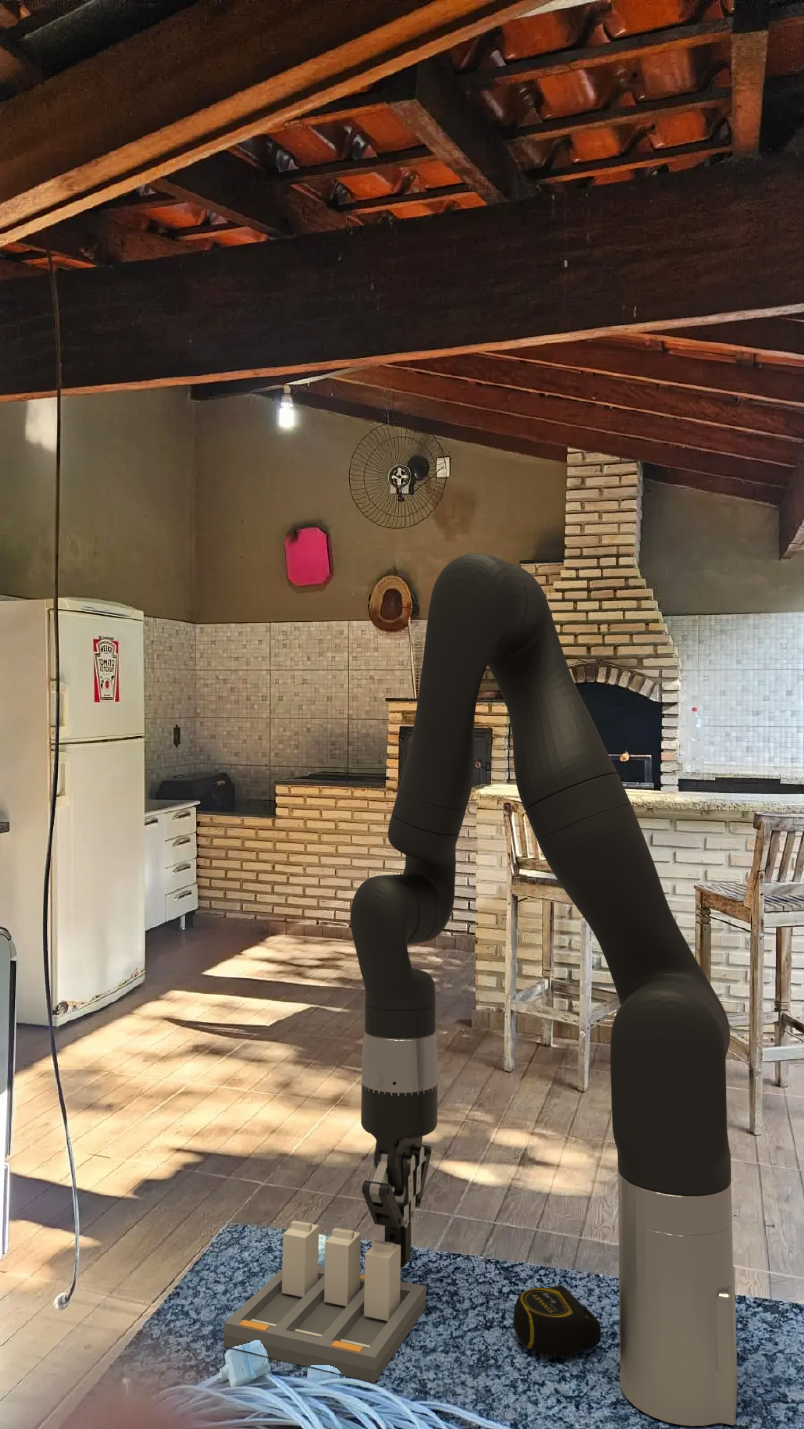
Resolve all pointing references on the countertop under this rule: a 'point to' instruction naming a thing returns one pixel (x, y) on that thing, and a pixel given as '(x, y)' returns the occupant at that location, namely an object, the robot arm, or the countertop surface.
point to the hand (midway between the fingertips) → (397, 1262)
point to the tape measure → (554, 1322)
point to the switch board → (324, 1327)
